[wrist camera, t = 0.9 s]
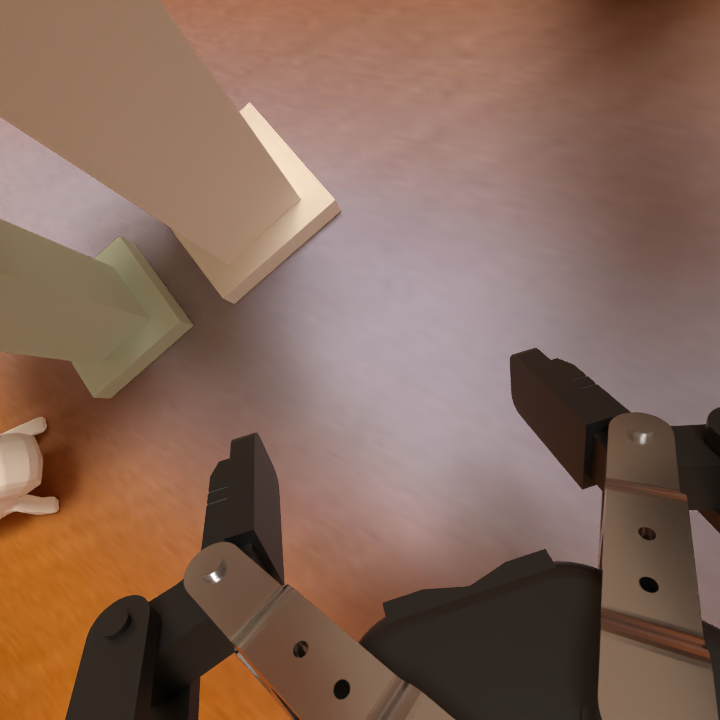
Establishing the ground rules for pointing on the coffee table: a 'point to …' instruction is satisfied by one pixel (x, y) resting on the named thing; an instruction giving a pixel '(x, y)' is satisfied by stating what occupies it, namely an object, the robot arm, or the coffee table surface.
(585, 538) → the coffee table surface
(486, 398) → the coffee table surface
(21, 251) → the short stand
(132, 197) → the tall stand
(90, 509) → the coffee table surface
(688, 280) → the coffee table surface
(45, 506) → the white turtle figurine
